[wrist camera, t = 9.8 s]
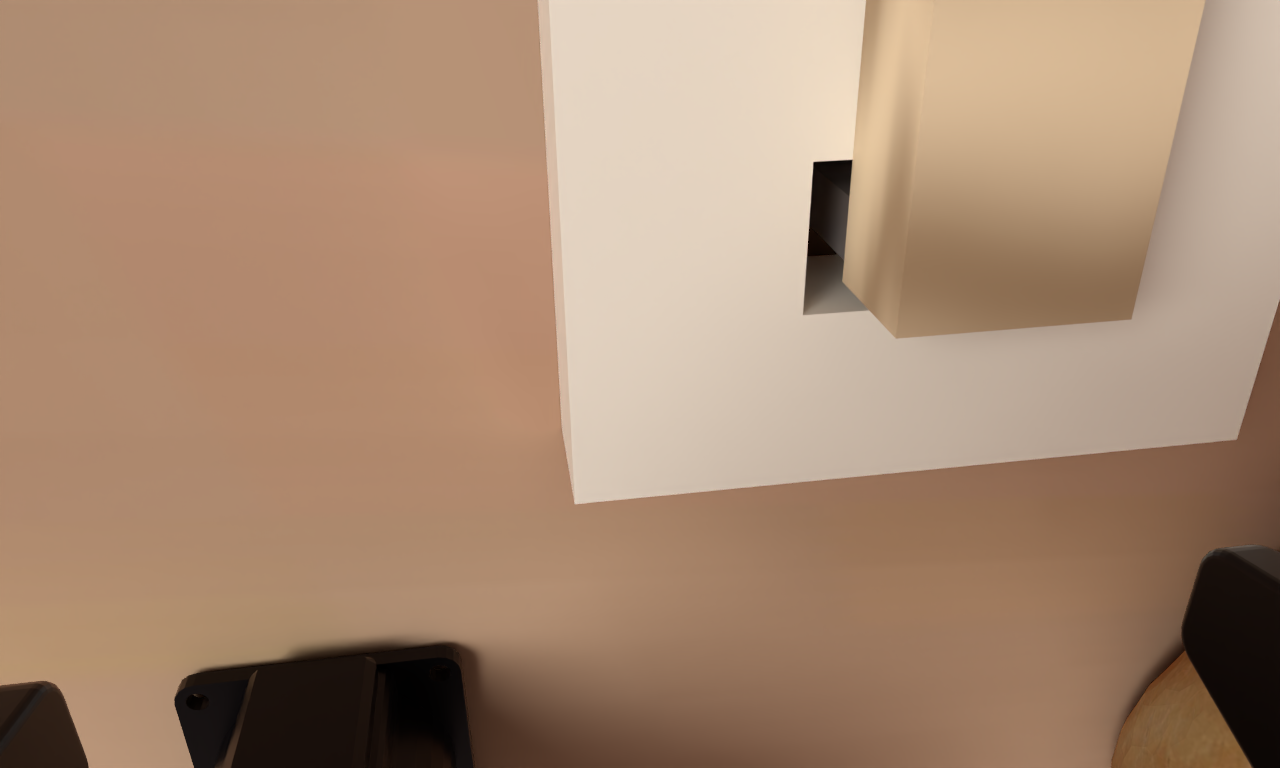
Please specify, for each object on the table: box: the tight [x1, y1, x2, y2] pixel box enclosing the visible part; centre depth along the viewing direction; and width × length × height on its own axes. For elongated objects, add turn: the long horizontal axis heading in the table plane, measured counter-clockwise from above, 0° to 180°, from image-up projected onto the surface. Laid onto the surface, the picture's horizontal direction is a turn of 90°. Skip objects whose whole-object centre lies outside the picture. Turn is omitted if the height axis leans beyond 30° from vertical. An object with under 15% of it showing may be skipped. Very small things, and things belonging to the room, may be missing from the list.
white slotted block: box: [538, 0, 1280, 504], centre depth 19 cm, size 10×14×3 cm
